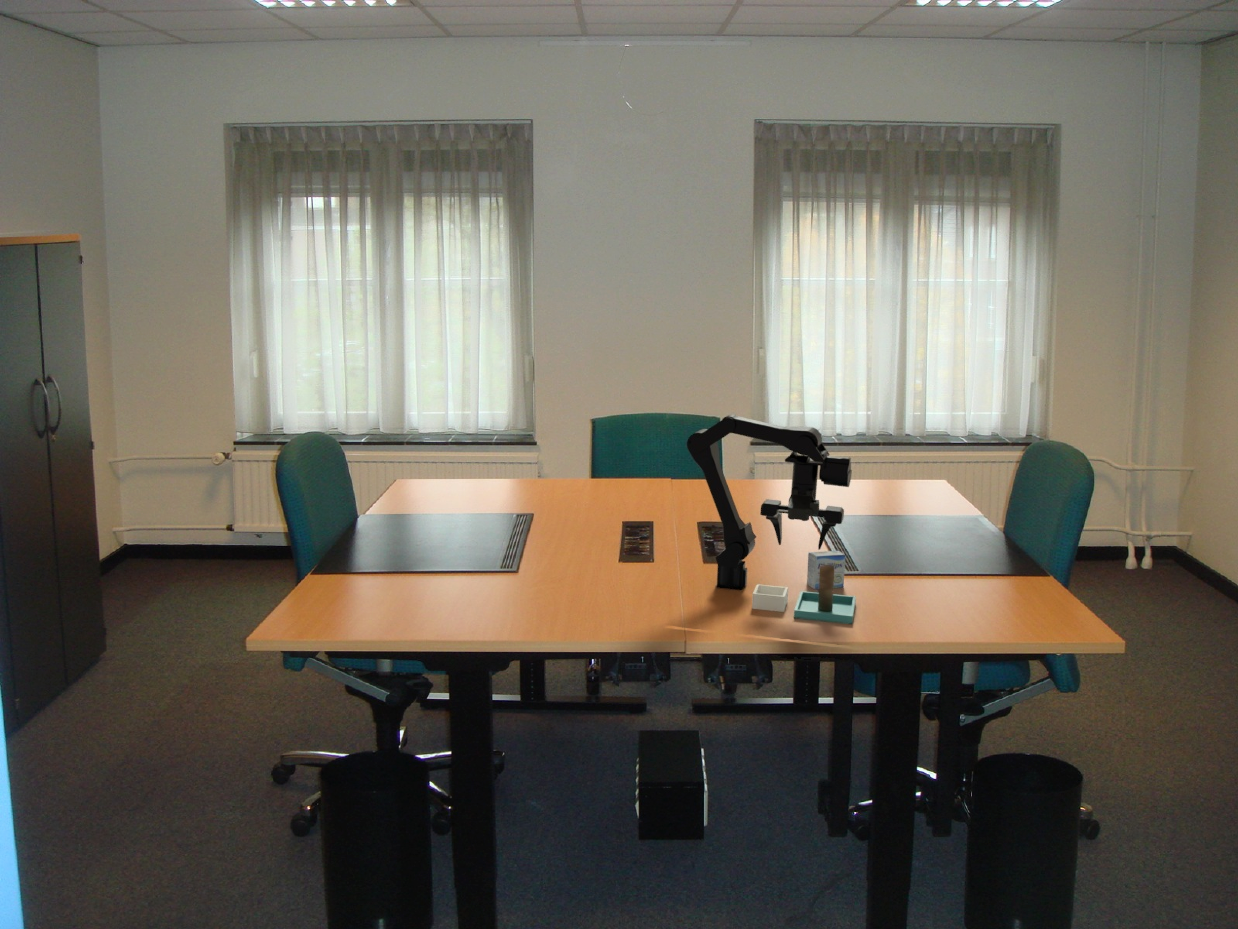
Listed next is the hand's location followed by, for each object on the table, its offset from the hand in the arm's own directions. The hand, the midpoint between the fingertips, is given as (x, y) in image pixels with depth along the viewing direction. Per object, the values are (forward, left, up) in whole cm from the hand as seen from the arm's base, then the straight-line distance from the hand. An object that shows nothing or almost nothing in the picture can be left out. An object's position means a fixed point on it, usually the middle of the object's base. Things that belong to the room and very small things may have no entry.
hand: (799, 546), depth 249 cm
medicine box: (+6, +8, -12) cm, 16 cm away
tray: (+7, -11, -12) cm, 18 cm away
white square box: (-5, -11, -12) cm, 17 cm away
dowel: (+7, -11, -11) cm, 17 cm away
